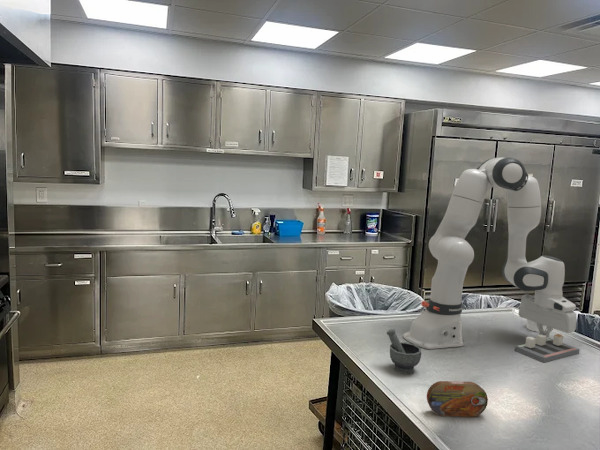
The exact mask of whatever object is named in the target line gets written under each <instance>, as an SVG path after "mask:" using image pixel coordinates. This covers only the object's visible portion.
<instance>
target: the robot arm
mask: <svg viewBox="0 0 600 450" xmlns="http://www.w3.org/2000/svg"><path fill="white" fill-rule="evenodd" d="M492 188H494V189H503V191H504V192H505V194H506V197H507V199H506V200H507V202H506V206H507V207H506V209H507V211H506V213H507V224H508V225H507V227H508V230H507V250H506V253H507V254H506V258H505V261H504V263H503V265H502V269H501V273H502V276H503V278H504V280H505V281H506V282H507V283H509V284H511V285H512V286H514V287H516V288H517V289H519V290H521V291H524V292H531V291H532V292H533V291H534V295H530V294H528V293H525V294H523V295H522V296H521V298H520V305H519V309H518V316H519V317H520V318H522V319H525V320H526V321H527V320H530V321H533V322H536V323H537V327H538V330H539V332H538V335H540V334H542V335H545V336H546V339H549V338H550V334H551V332H552V331H553V330H557V331H559V332H560V331H561V332H564V333H567V334H569V333H573V332H575V330H577V314H576V312H575V310H576V309H577V306H576V304H575V303H573V302H572V301H570V300H569V299H567V298H566V297H564V296H563V295H564V294H563V286H564V284H565V276H566V275H565V272H566V269H565V263H564V262H563V260H561V259H559V258H557V257H554V256H552V255H551V256H550V255H541V256H540V257H538V258H537V259H534V260H532V261H527V258H526V251H527V250H526V249H527V238H528V235H529V233H530V232H531V231H532V230H534V229H536V227H538V226H539V224H540V221H541V216H542V198H541V189H540V186H539V181H538V179H537V178H536V177H534V176H532V175H529V174H528V173H527V171H526V168H525V166H524V164H523V163H522V162H521V160H519V159H516V158H514V157H504V156H499V157H494V158H489V159H487V160H485V161H483V162H482V163H481V164H480V165H479V166H477V168H469V169H465V170H464V171H462V172H461V175H460V176H459V178H458V179H457V182H456V184H455V186H454V188H453V190H452V194H451V197H450V199H449V202H448V205H447V209H446V211H445V214H444V215H443V218H442V219H441V222H440V224H439V226H438V227H437V229H436V231H435V233H434V234H433V236H431V238H429V242H428V249H429V252H430V253H431V255H432V257H433V258H435V259H436V260H437V266H436V270H435V272H434V275H433V276H432V278H431V283H430V284H431V285H430V286H431V287H430V297H429V299H428V301H426V300H422V301H421V302H420V305H421V306H422V307H424V308H425V309H424V310H423V311H422V312H421V313H420V314H419V315H418V316H417V317H416V318H415V319H413V321H412V322H411V324H410V328H409V331H407V332H405V333H403V335H402V337H403V338H404V339H405V341H407V342H408V343H410V344H414V345H416V346H418V347H419V348H421V349H422V348H423V349H427V350H433V349H434V350H435V349H436V350H437V349H446V348H457V347H463V346H464V340H463V325H462V324H463V323H462V316H461V314H462V312H463V302H462V297H463V287H464V282H465V278H466V274H467V271H468V269H469V266H470V265H471V264H472V263H473V261H474V259H475V251H474V248H473V246H471V244H470V243H469V242H468V241H467V240H465V239H466V237H467V235H468V234H469V232H470V231H471V230H472V228H473V227H475V226H476V224H477V222H478V218H479V216H480V213H481V209H482V206H483V203H484V202H485V198H486V195H487V193H488V192H489V190H490V189H492ZM544 325H545V326H546V328H545V331H544V330H543V327H542V326H544Z"/></svg>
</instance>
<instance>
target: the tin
mask: <svg viewBox="0 0 600 450" xmlns="http://www.w3.org/2000/svg"><path fill="white" fill-rule="evenodd" d="M426 400H427V404H428V405H429V408H430V409H431V411H432V412H433V413H434V414H436V415H437V416H440V417H461V418H463V417H466V418H468V417H469V418H474V417H477V416H479V415H481V414H482V413H484V411H485V410H486V408H487V406H488V402H489V398H488V395H487V392H486V391H485V390H484V388H483V387H481V386H480V385H479V384H478V383H476V382H473V381H461V380H458V381H456V380H455V381H453V380H440V381H436V382H434V383H432V384H431V385H430V386H429V388H428V390H427V393H426Z"/></svg>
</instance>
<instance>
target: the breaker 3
mask: <svg viewBox="0 0 600 450" xmlns="http://www.w3.org/2000/svg"><path fill="white" fill-rule="evenodd" d="M563 342H564V336H563V335H562V334H560V333H556V334H554V335H553V344H555V345H557V346H560V345H562V344H563Z"/></svg>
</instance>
